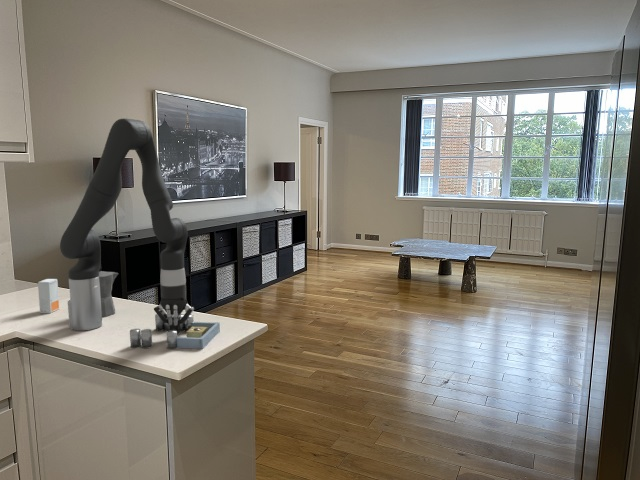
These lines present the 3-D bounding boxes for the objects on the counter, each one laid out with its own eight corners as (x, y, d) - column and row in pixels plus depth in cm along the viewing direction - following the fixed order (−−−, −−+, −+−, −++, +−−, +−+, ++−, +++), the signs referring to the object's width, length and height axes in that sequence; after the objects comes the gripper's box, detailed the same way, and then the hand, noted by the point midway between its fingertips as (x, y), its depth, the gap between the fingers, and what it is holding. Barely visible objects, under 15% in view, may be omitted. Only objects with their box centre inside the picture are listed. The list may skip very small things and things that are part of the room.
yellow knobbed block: (186, 342, 149) (186, 331, 148) (192, 337, 154) (192, 326, 153) (202, 343, 148) (202, 331, 148) (207, 337, 153) (207, 326, 152)
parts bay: (172, 347, 144) (172, 337, 143) (192, 330, 160) (191, 321, 159) (203, 348, 143) (202, 339, 142) (219, 331, 159) (219, 322, 158)
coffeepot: (117, 308, 186) (114, 262, 184) (124, 313, 179) (122, 266, 176) (73, 315, 176) (70, 267, 174) (79, 321, 169) (76, 271, 167)
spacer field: (128, 347, 144) (127, 331, 143) (156, 327, 162) (156, 313, 162) (175, 349, 142) (174, 333, 141) (198, 329, 161) (197, 314, 160)
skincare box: (51, 313, 179) (48, 282, 177) (39, 313, 179) (37, 282, 177) (60, 309, 185) (57, 278, 183) (49, 308, 185) (46, 278, 183)
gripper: (147, 284, 147) (149, 338, 149) (189, 285, 145) (190, 340, 148) (158, 279, 154) (160, 331, 156) (197, 280, 153) (199, 332, 155)
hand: (175, 335), depth 152 cm, fingers closed
